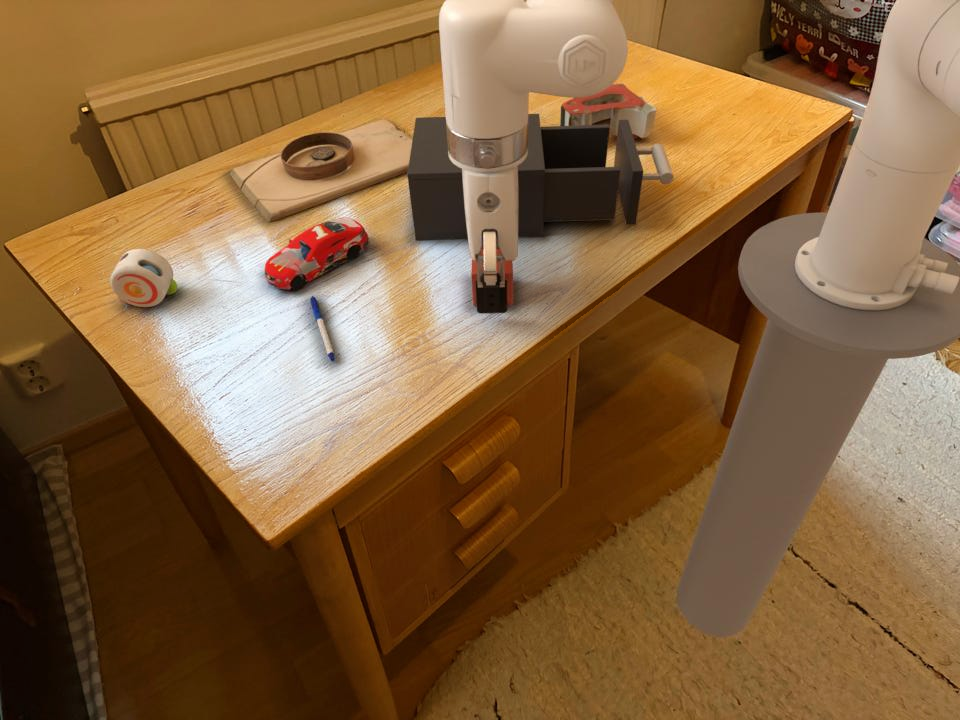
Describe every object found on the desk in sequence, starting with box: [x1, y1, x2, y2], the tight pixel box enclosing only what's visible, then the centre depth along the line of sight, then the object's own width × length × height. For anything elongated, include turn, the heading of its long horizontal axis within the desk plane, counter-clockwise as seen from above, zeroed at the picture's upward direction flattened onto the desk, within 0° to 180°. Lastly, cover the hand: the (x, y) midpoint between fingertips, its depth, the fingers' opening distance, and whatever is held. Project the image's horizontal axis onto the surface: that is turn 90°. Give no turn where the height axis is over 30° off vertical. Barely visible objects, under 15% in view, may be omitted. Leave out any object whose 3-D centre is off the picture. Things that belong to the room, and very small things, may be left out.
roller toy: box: [109, 248, 179, 308], centre depth 78 cm, size 4×6×6 cm
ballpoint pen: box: [309, 295, 335, 362], centre depth 75 cm, size 10×1×1 cm, turn 22°
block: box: [470, 249, 514, 307], centre depth 77 cm, size 4×4×4 cm
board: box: [229, 118, 413, 223], centre depth 98 cm, size 25×15×3 cm, turn 124°
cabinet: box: [406, 113, 545, 241], centre depth 88 cm, size 16×14×9 cm
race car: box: [264, 216, 370, 291], centre depth 82 cm, size 13×5×4 cm, turn 131°
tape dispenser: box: [559, 83, 658, 140], centre depth 104 cm, size 18×5×20 cm
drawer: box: [540, 120, 675, 226], centre depth 87 cm, size 19×12×7 cm, turn 89°
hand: (492, 282), depth 78 cm, fingers open, 9 cm apart
